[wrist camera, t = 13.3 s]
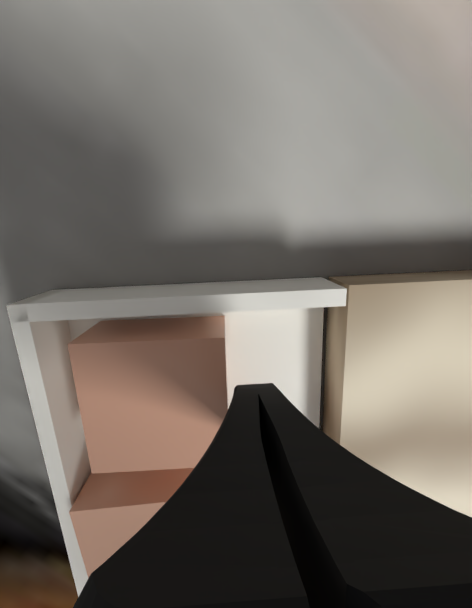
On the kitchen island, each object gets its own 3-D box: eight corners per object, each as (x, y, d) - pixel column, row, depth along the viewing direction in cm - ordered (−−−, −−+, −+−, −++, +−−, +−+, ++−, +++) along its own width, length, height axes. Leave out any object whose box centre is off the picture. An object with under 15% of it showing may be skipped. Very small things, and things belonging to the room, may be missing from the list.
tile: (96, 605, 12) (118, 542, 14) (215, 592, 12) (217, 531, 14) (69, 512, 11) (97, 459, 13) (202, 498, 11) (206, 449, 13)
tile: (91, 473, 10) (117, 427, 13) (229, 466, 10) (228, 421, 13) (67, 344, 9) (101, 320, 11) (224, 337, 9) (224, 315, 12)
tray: (312, 549, 15) (328, 608, 13) (108, 565, 15) (86, 628, 13) (321, 277, 12) (346, 288, 9) (52, 289, 11) (5, 304, 9)
